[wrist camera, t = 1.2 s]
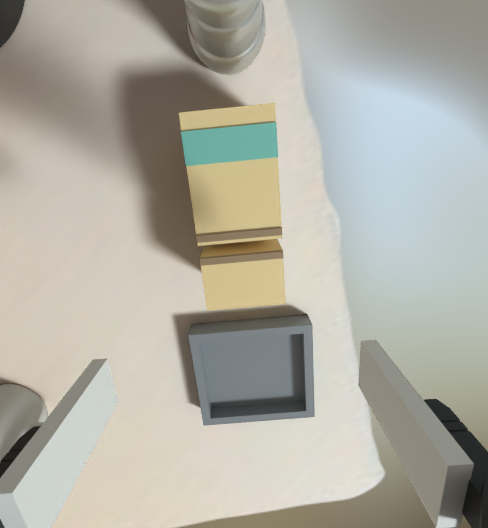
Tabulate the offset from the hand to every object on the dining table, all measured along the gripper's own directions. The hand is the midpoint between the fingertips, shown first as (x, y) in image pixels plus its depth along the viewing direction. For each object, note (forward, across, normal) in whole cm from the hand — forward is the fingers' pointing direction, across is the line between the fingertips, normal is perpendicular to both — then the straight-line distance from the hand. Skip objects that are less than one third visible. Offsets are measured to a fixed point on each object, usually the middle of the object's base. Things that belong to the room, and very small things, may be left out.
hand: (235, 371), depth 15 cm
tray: (+19, +1, -14) cm, 23 cm away
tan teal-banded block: (+19, 0, +9) cm, 21 cm away
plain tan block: (+19, +1, +1) cm, 19 cm away
